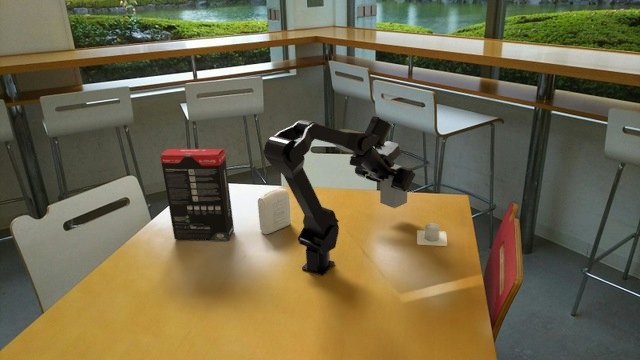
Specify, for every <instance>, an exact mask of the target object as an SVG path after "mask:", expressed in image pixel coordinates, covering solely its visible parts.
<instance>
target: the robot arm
mask: <svg viewBox="0 0 640 360" xmlns="http://www.w3.org/2000/svg"><path fill="white" fill-rule="evenodd" d="M391 129H392V124H390V123H388V121H386V120H384V119H382V118H380V117H379V116H376V115H373V116H372V117H371V119H370V121H369V124H368V126H367V128H366V129H365V132H363V131H357V130H353V129H348V128H346V129H343V128H342V129H337V128H334V127H329V126H326V125H322V124H319V123H317V122H315V121H310V120H306V119H301V120H297V121H296V122H295V123H293V125H291V126H289V127H287V128H284V129H282V130H280V131H278V132H277V133H276V134H275V135H273V136H271V137H269V138H268V139H267V141H266V142H265V145H264V148H263V156H264V158H265V159H266V160H267V161H268V163H269V164H270V165H271V166H272V167H273V168H274V169H276V170H277V171H278V172H279V173H281V175H283V177H284V179H285V181H286V183H287V185H288V187H289V188H290V190H291V192H292V195H293V196H294V198H295V200H296V201H297V204H298V206H299V208H300V209H301V211H302V213H303V215H304V216H303V219H302V224H303V227H302V229H301V232H299V234H298V235H299V236H297V241H298V243H299V245H300V246H304V247H305V259H306V263H305V264H303V266H302V267H301V269H302V271H307V272H309V273H314V274H317V275H320V276H323V275H325V274H326V273H327V272H328V271H329V270H330V269H331V268H332V267H333V266H335V263H336V262H335V261H334V260H330V259H331V257H330V256H331V255H330V251H333V250H334V249H335V248H336V246H337V242H338V237H339V230H340V226H339V220H340V219H339V220H338V219H337V216H336V213H335V211H334V210H332V209H329V208H327V207H324V206H322V204H321V202H320V200H319V198H318V196H317V194H316V192H315V189H314V188H313V186H312V184H311V181H310V180H309V177H308V175H307V173H306V171H305V170H304V164H305V155H306V154H307V153H309V152H310V149H311V146H312V144H313V142H314V140H316V141H320V142H324V143H328V144H332V145H334V146H335V147H336V148H338V149H339V150H341V151H343V152H348V153H350V154H351V153H352V155H351V156H350V157H349V158H350V160H349V165H350V166H354V173H355V174H356V176H358V177H360V178H365V179H366V180H369V181H372V182H376V183H379V184H380V180H381V181H384V179H386V180H387V179H388V178H389V177H392V179H393V180H392V185H391V188H394V189H397V190H401V191H404V192H405V191H407V192H408V190H409V187H410V186H411V184H412V183H413V180H414V178H415V177H416V172H415V171H414V170H413V169H412V168H410V167H406V166H403V165H401V166H402V167H400V168H397V169H396V170H395V169H392V168H391V167H393V166H394V164H395V160H396V159H398V157H399V156H401V154H402V151H401V147H400V145H399V143H397V142H393V141H390V140H389V141H386V139H387V137H388V135H390V134H389V133H390V132H391ZM296 140H298V141H296Z"/></svg>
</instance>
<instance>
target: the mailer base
mask: <svg viewBox="0 0 640 360" xmlns="http://www.w3.org/2000/svg"><path fill="white" fill-rule="evenodd" d="M416 236H417V237H416V238H417V239H416V240H417V241H416V244H417V245H418V246H419V245H422V246H423V245H424V246H439V247H440V246H441V247H442V246H443V247H448V241H447V240H448V239H447V232H446V231H441V226H440V225H439V224H437V223H434V222H433V223H426V224H425V226H424V230H419V229H417V231H416Z"/></svg>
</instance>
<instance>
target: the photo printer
mask: <svg viewBox="0 0 640 360" xmlns="http://www.w3.org/2000/svg"><path fill="white" fill-rule="evenodd" d="M290 203H291V202H290V194H289V192H288V190H287V189H285V188H275V189H272V190H269V191H267V192H265V193H264V194H263V195H261V196H260V197H259V198H258V199H257V207H258V208H257V209H258V220H259V229H260V232H261V233H262V234H264V235H268V234H272V233H274V232H276V231H279V230H281V229H283V228H286V227H288V226H290V225H291V224H292V223H291V220H292V219H291V205H290Z"/></svg>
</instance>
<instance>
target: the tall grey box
mask: <svg viewBox="0 0 640 360" xmlns="http://www.w3.org/2000/svg"><path fill="white" fill-rule="evenodd" d="M402 166H403V165H400V164H394V166H393V167H391V168H392V169H395V170H396V169H397V168H400V167H402ZM392 180H393V179H392V177H389V178H388V179H387V180H386V179H384V181H381V180H380V183H379V184H380V185H379V186H380V190H379V191H380V192H379V193H380V194H379V195H380V199H379V201H380V202H379V203H380V204H381V205H382V204H383V205H385V206H388V207H389V208H392V209H397V208H398V207H401V206H404V205H405V204H407V203H408V190H407V191H405V192H404V191H401V190H397V189H394V188H391V185H392Z"/></svg>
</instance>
